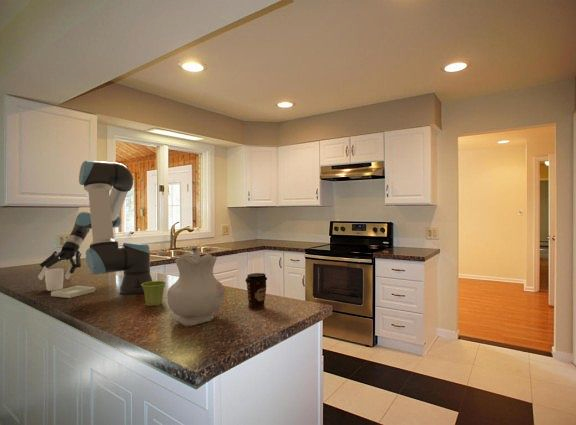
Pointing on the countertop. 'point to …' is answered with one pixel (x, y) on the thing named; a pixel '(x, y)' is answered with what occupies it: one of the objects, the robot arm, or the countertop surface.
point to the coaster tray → (73, 291)
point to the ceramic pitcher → (195, 289)
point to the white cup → (54, 279)
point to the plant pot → (153, 292)
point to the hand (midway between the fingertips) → (52, 278)
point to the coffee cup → (256, 290)
